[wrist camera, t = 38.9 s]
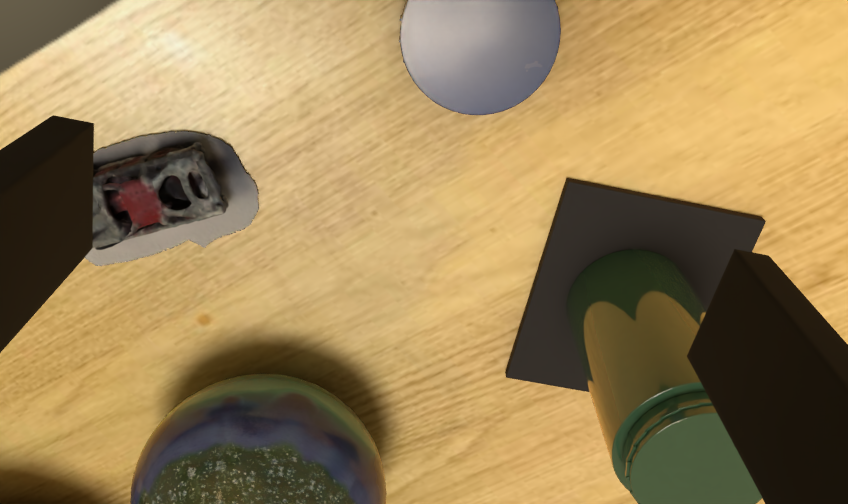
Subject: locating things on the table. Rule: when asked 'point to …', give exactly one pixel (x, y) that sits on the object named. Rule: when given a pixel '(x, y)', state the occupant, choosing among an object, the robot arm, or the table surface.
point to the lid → (479, 50)
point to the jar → (652, 382)
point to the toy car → (166, 195)
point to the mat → (607, 233)
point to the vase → (260, 448)
